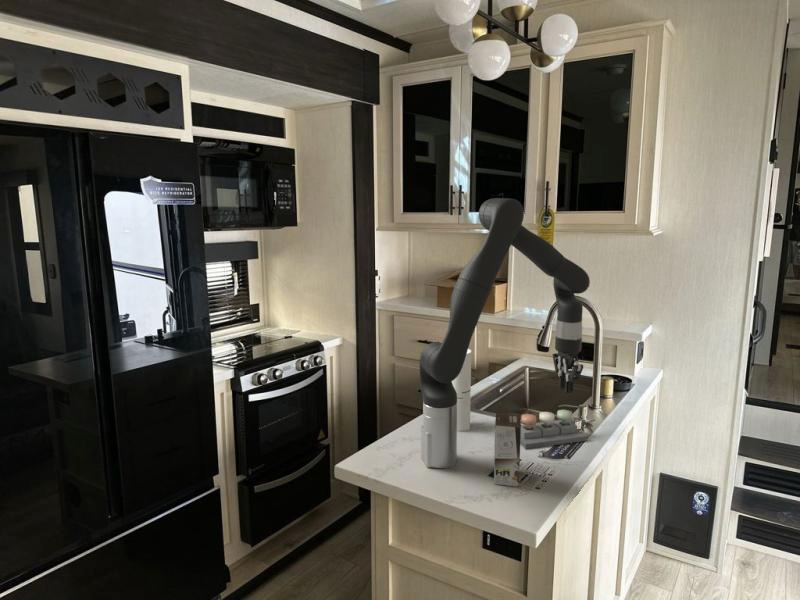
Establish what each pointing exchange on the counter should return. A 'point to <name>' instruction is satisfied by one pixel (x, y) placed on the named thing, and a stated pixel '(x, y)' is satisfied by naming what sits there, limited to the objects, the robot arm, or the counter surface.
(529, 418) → the terracotta button
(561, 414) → the sage button
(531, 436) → the console
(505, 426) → the coffee box
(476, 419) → the counter surface
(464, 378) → the cylindrical container
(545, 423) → the cream button
